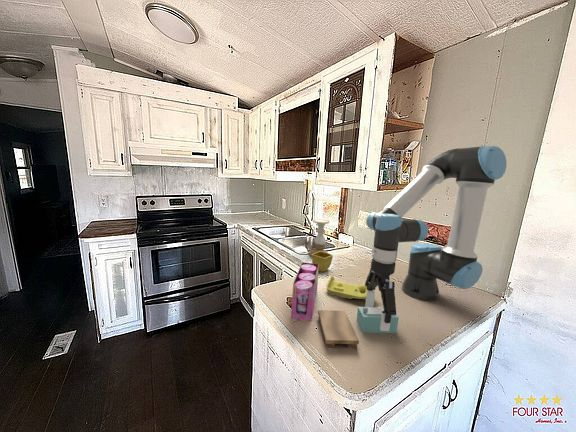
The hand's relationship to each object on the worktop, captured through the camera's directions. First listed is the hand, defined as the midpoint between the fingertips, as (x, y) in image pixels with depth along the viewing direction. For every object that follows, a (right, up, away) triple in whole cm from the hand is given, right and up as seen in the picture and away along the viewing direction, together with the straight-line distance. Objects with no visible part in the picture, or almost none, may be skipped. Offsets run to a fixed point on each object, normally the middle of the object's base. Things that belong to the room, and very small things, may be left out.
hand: (376, 317), depth 83 cm
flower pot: (-12, +5, +50) cm, 51 cm away
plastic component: (-4, 0, +23) cm, 23 cm away
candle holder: (-11, +9, +70) cm, 72 cm away
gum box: (-24, -1, +14) cm, 28 cm away
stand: (-15, -4, -3) cm, 15 cm away
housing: (0, -4, +1) cm, 4 cm away
